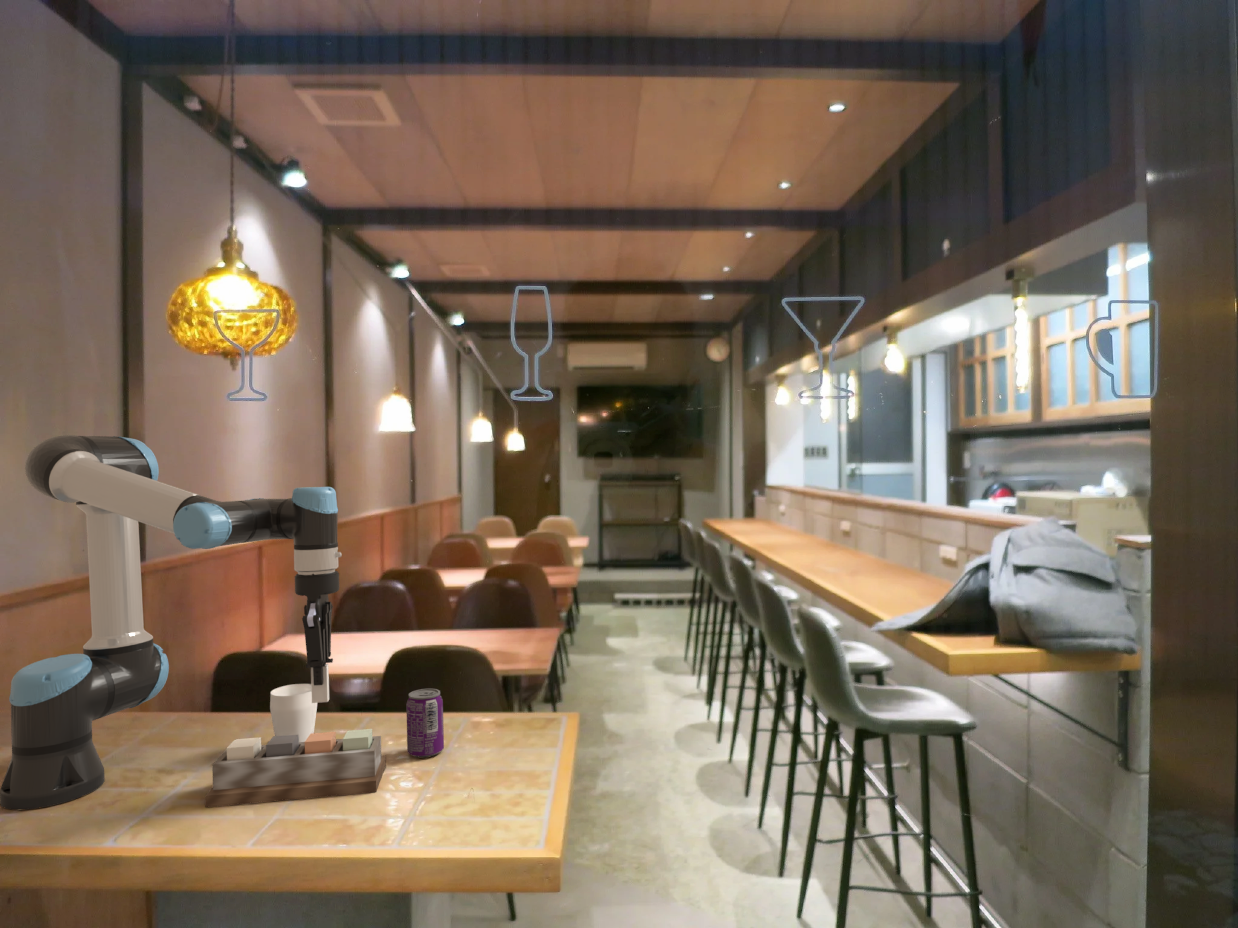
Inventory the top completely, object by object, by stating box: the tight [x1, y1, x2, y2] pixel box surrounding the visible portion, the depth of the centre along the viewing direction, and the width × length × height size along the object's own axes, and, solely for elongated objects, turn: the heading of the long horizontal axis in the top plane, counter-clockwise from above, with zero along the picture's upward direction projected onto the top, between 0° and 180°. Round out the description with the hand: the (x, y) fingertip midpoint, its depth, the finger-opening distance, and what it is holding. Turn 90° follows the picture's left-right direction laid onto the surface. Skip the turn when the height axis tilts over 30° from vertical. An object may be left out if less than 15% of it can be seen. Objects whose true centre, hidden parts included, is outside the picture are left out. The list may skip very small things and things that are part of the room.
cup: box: [269, 683, 318, 742], centre depth 155 cm, size 9×9×12 cm
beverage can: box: [405, 688, 445, 759], centre depth 151 cm, size 7×7×12 cm
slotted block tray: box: [204, 735, 387, 808], centre depth 136 cm, size 28×12×6 cm, turn 99°
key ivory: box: [226, 737, 262, 761], centre depth 135 cm, size 4×4×3 cm
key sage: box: [342, 728, 373, 751], centre depth 138 cm, size 4×4×3 cm
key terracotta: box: [305, 731, 337, 754], centre depth 137 cm, size 4×4×3 cm
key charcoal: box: [265, 734, 299, 757], centre depth 136 cm, size 4×4×3 cm
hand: (320, 700), depth 137 cm, fingers closed
